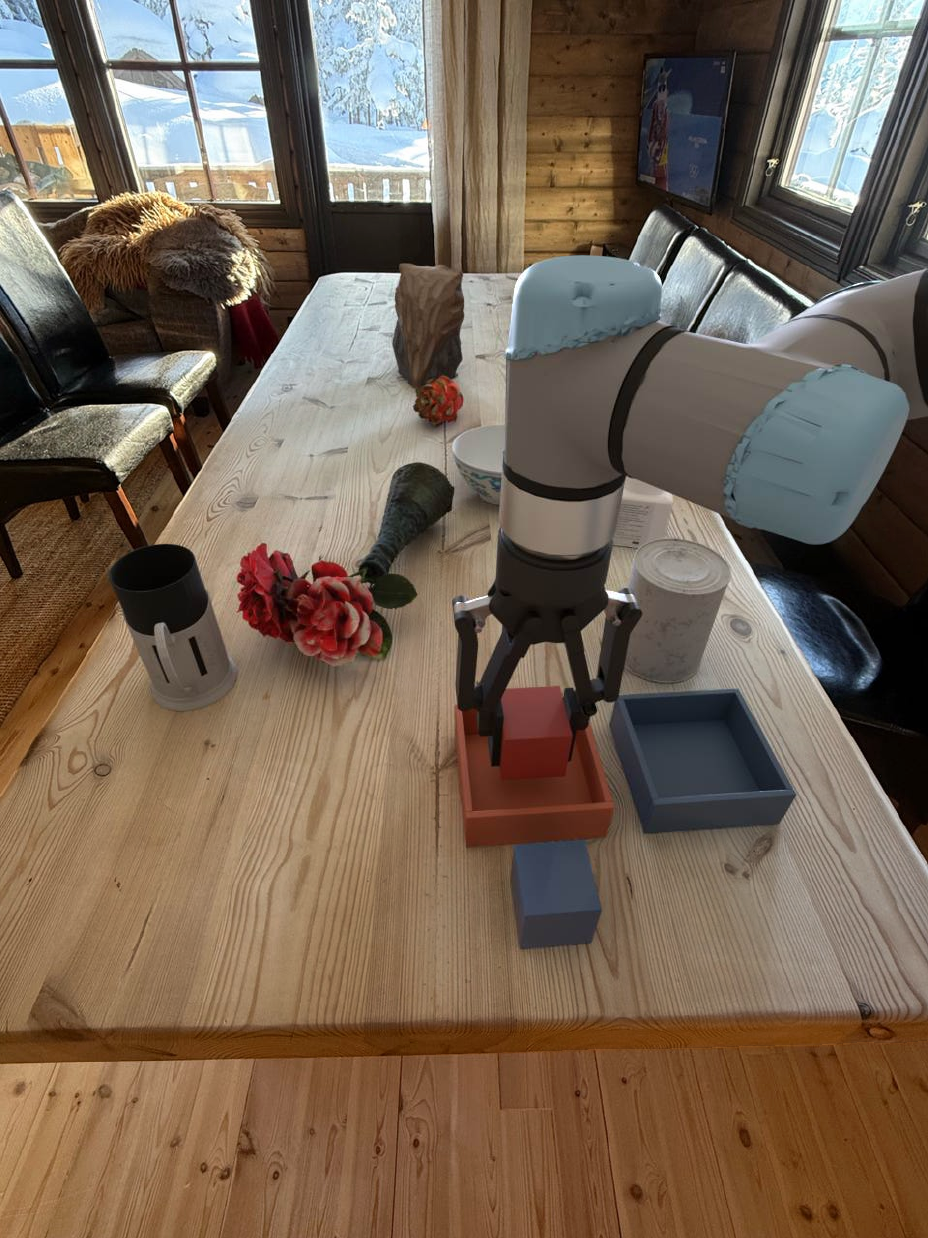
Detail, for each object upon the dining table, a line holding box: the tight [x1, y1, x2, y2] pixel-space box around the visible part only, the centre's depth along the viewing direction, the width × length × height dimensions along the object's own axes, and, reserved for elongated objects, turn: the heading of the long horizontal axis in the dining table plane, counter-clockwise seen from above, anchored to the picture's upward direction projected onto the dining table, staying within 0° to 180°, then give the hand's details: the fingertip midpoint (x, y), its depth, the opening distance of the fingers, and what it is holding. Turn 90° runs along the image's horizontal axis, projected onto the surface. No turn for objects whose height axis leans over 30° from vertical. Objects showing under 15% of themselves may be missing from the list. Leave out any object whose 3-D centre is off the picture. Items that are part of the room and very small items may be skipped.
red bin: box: [454, 703, 616, 848], centre depth 59 cm, size 12×12×4 cm
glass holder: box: [108, 543, 238, 712], centre depth 63 cm, size 9×14×15 cm, turn 20°
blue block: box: [509, 839, 603, 950], centre depth 50 cm, size 6×6×6 cm
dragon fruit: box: [412, 376, 465, 427], centre depth 118 cm, size 8×8×12 cm
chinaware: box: [451, 424, 505, 506], centre depth 98 cm, size 15×15×8 cm
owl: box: [391, 263, 465, 389], centre depth 130 cm, size 13×13×20 cm
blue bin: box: [608, 687, 797, 835], centre depth 60 cm, size 12×12×4 cm
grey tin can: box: [624, 537, 732, 684], centre depth 70 cm, size 10×10×12 cm
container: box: [613, 476, 674, 549], centre depth 88 cm, size 8×8×13 cm
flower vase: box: [236, 461, 456, 667], centre depth 79 cm, size 16×18×35 cm
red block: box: [499, 685, 573, 780], centre depth 56 cm, size 6×6×6 cm
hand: (528, 751), depth 58 cm, fingers closed on red block, 5 cm apart
